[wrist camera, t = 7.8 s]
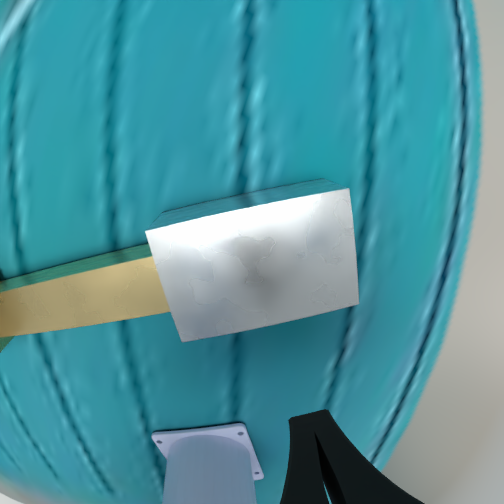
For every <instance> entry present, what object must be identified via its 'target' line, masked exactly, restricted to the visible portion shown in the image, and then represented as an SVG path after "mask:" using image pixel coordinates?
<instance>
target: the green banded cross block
mask: <svg viewBox="0 0 504 504" xmlns="http://www.w3.org/2000/svg"><path fill="white" fill-rule="evenodd" d="M165 312H171V311H170V308H169V305H168V302H167V299H166V296H165V293H164V290H163V287H162V284H161V281H160V278H159V275H158V272H157V269H156V265H155V262H154V259H153V256H152V253H151V249H150V246H149V243H148V244H144V245H140V246H136V247H132V248H127V249H123V250H119V251H115V252H111V253H107V254H103V255H99V256H95V257H91V258H87V259H83V260H79V261H75V262H71V263H67V264H63V265H60V266H56V267H52V268H48V269H44V270H41V271H37V272H33V273H30V274H26V275H22V276H19V277H15V278H11V279H8V280H4V281H1V282H0V352H1V351H2V350H3V349H4V348H5V346H6V345H7V344H8V343H9V342H10V341H11V340H12V338H13V337H14V336H17V335H25V334H32V333H40V332H47V331H54V330H61V329H68V328H75V327H82V326H88V325H95V324H101V323H107V322H113V321H119V320H125V319H131V318H137V317H143V316H149V315H154V314H160V313H165Z"/></svg>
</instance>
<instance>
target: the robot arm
mask: <svg viewBox="0 0 504 504" xmlns="http://www.w3.org/2000/svg"><path fill="white" fill-rule="evenodd" d="M289 426H290V452H289V461H288V469H287V475H286V480H285V485H284V489H283V494H282V498H281V501H280V504H329V501H328V498H327V495H326V491H325V488H324V484H325V487H326V489H327V492H328V495H329V497H330V500H331V502H332V504H424V503H423V502H421V501H419V500H418V499H416V498H414V497H412V496H411V495H409V494H408V493H406V492H405V491H404V490H402V489H401V488H399V487H398V486H397V485H395V484H394V483H393V482H391V481H390V480H389V479H388V478H387V477H385V476H384V475H383V474H382V473H381V472H380V471H378V470H377V469H376V468H375V467H374V466H373V465H372V464H371V463H370V462H369V461H368V460H367V459H366V458H365V457H364V456H363V455H362V454H361V453H360V452H359V451H358V450H357V448H356V447H355V446H354V445H353V444H352V443H351V442H350V440H349V439H348V438H347V437H346V436H345V434H344V433H343V432H342V430H341V429H340V428H339V426H338V425H337V423H336V422H335V420H334V419H333V417H332V416H331V414H330V412H329V410H326V409H324V410H320V411H316V412H312V413H308V414H304V415H300V416H295V417H291V418H290V419H289ZM152 439H153V441H154V442H155V444H156V445H157V447H158V448H159V449H160V451H161V452H162V454H163V455H164V457H165V458H166V459H167V466H166V475H165V483H164V492H163V501H162V504H257V503H256V494H255V485H254V480H260V479H263V478H264V474H263V471H262V469H261V466H260V464H259V461H258V459H257V456H256V453H255V451H254V448H253V445H252V443H251V440H250V437H249V435H248V432H247V429H246V426H245V425H244V424H242V423H236V424H230V425H223V426H215V427H207V428H198V429H189V430H178V431H165V432H154V433H152ZM323 482H324V483H323Z"/></svg>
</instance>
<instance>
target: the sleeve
mask: <svg viewBox="0 0 504 504" xmlns="http://www.w3.org/2000/svg"><path fill="white" fill-rule="evenodd" d="M145 232H146V236H147V239H148V243H149V246H150V249H151V253H152V256H153V259H154V262H155V265H156V269H157V272H158V275H159V278H160V281H161V284H162V287H163V290H164V293H165V296H166V299H167V302H168V305H169V308H170V311H171V314H172V316H173V319H174V322H175V325H176V328H177V330H178V333H179V336H180V338H181V341H182V342H187V341H192V340H198V339H204V338H209V337H215V336H220V335H226V334H231V333H236V332H241V331H246V330H251V329H256V328H261V327H265V326H270V325H275V324H279V323H284V322H288V321H292V320H297V319H301V318H305V317H309V316H314V315H318V314H322V313H326V312H330V311H334V310H338V309H342V308H345V307H349V306H353V305H357V304H359V293H358V276H357V262H356V249H355V238H354V228H353V218H352V209H351V200H350V192H349V188H347V187H344V186H342V185H339V184H336V183H334V182H331V181H328V180H326V179H317V180H311V181H306V182H300V183H295V184H290V185H284V186H279V187H274V188H269V189H264V190H259V191H254V192H249V193H244V194H240V195H235V196H230V197H226V198H221V199H217V200H212V201H208V202H203V203H199V204H195V205H190V206H186V207H182V208H178V209H173V210H169V211H165V212H162V213H161V214H160V216H159V217H158V218H157V219H156V220H155V221H154V222H153V223H152V224H151V225H150V226H149V228H148V229H147V230H146V231H145Z"/></svg>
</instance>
